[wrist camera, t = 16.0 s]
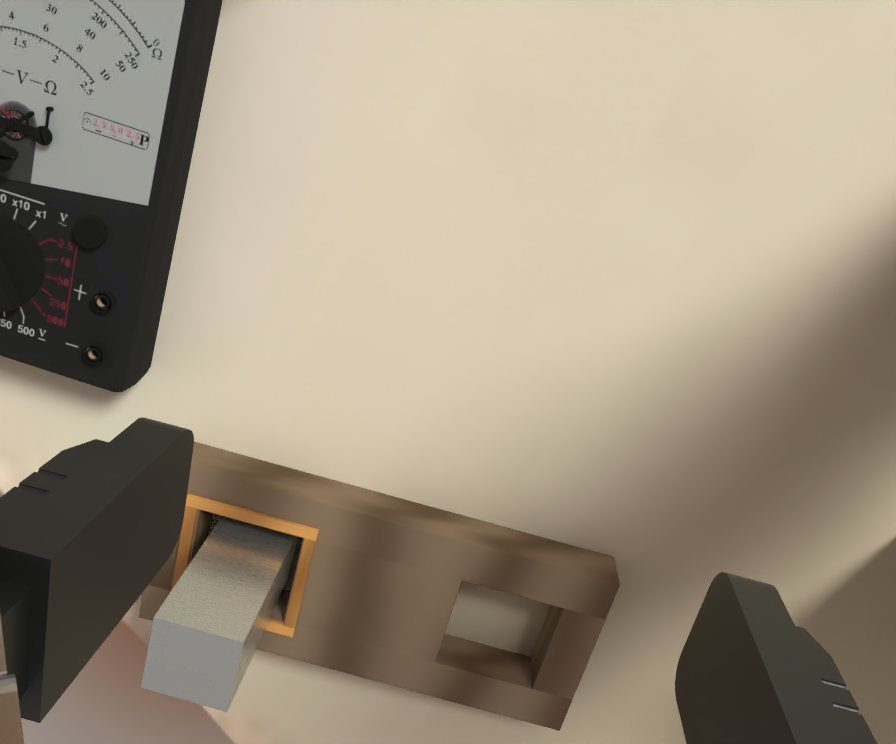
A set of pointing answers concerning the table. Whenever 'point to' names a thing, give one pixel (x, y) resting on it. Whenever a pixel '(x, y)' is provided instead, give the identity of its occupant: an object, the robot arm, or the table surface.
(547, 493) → the table surface
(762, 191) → the table surface
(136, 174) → the multimeter
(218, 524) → the steel peg
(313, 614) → the hole board
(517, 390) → the table surface
